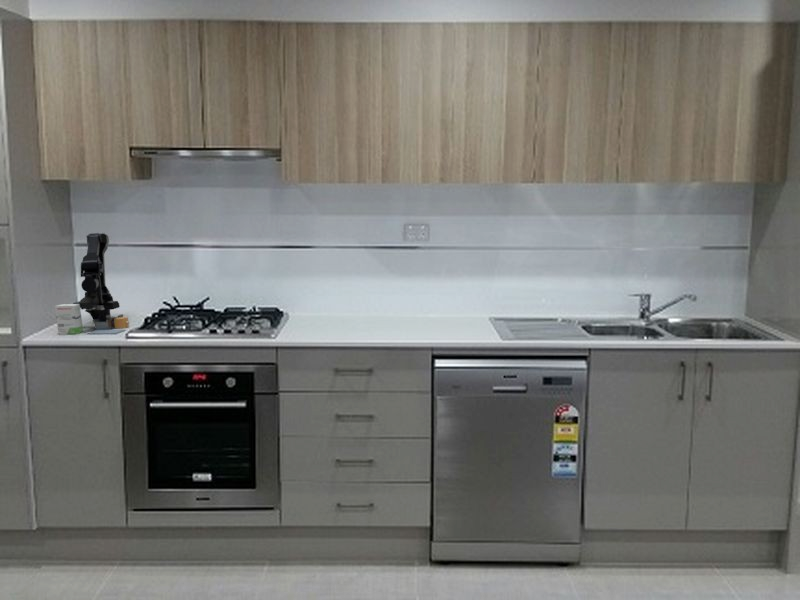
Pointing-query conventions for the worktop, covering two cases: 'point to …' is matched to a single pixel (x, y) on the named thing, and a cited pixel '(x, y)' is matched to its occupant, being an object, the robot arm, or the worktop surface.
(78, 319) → the ink box
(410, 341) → the worktop surface
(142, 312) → the worktop surface
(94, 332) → the mat
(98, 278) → the robot arm
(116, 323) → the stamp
